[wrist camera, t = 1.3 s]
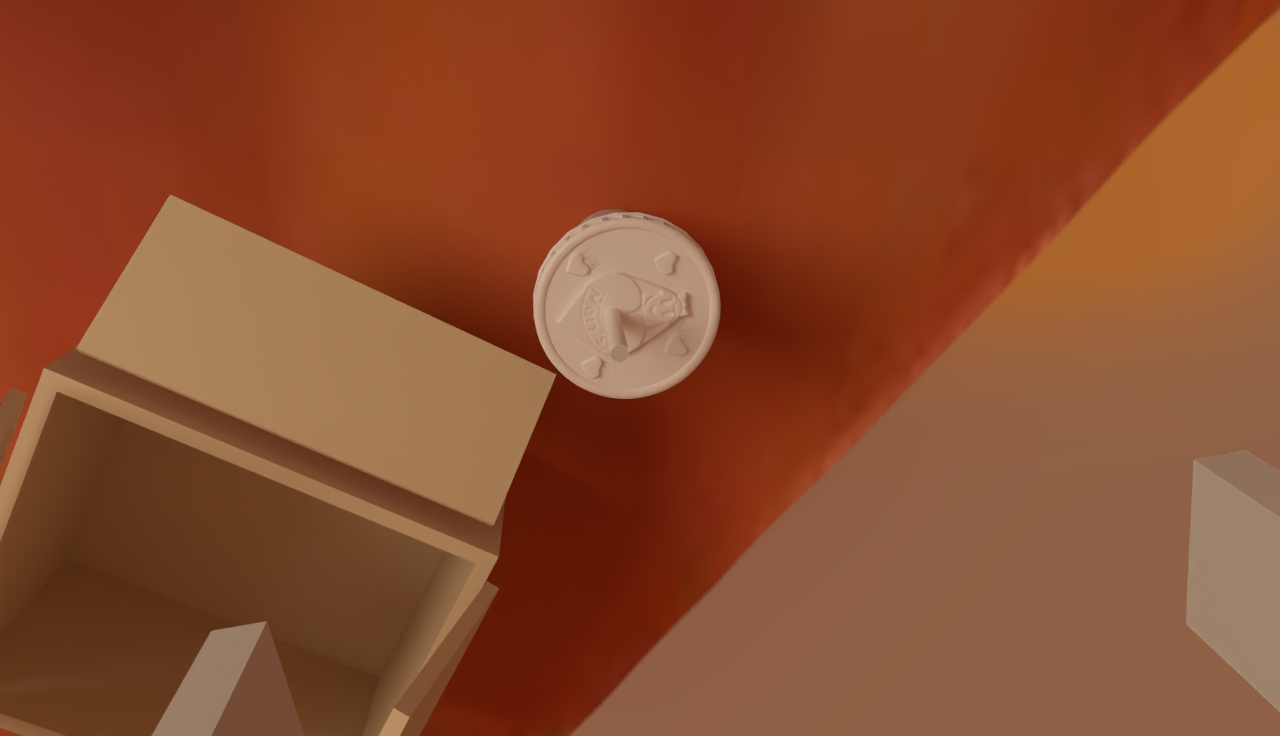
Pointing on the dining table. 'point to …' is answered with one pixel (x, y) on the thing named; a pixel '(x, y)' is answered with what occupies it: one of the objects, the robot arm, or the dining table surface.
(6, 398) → the flap
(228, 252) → the flap
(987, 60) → the dining table surface
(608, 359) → the smoothie
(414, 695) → the flap
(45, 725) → the carton
